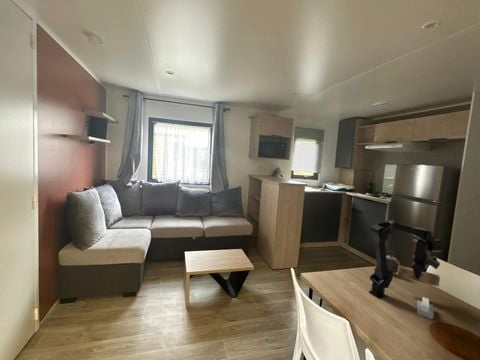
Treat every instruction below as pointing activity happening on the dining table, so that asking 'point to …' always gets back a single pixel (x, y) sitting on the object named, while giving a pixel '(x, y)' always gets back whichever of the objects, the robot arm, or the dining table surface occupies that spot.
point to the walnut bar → (424, 276)
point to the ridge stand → (425, 308)
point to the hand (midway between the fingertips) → (417, 277)
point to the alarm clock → (392, 263)
